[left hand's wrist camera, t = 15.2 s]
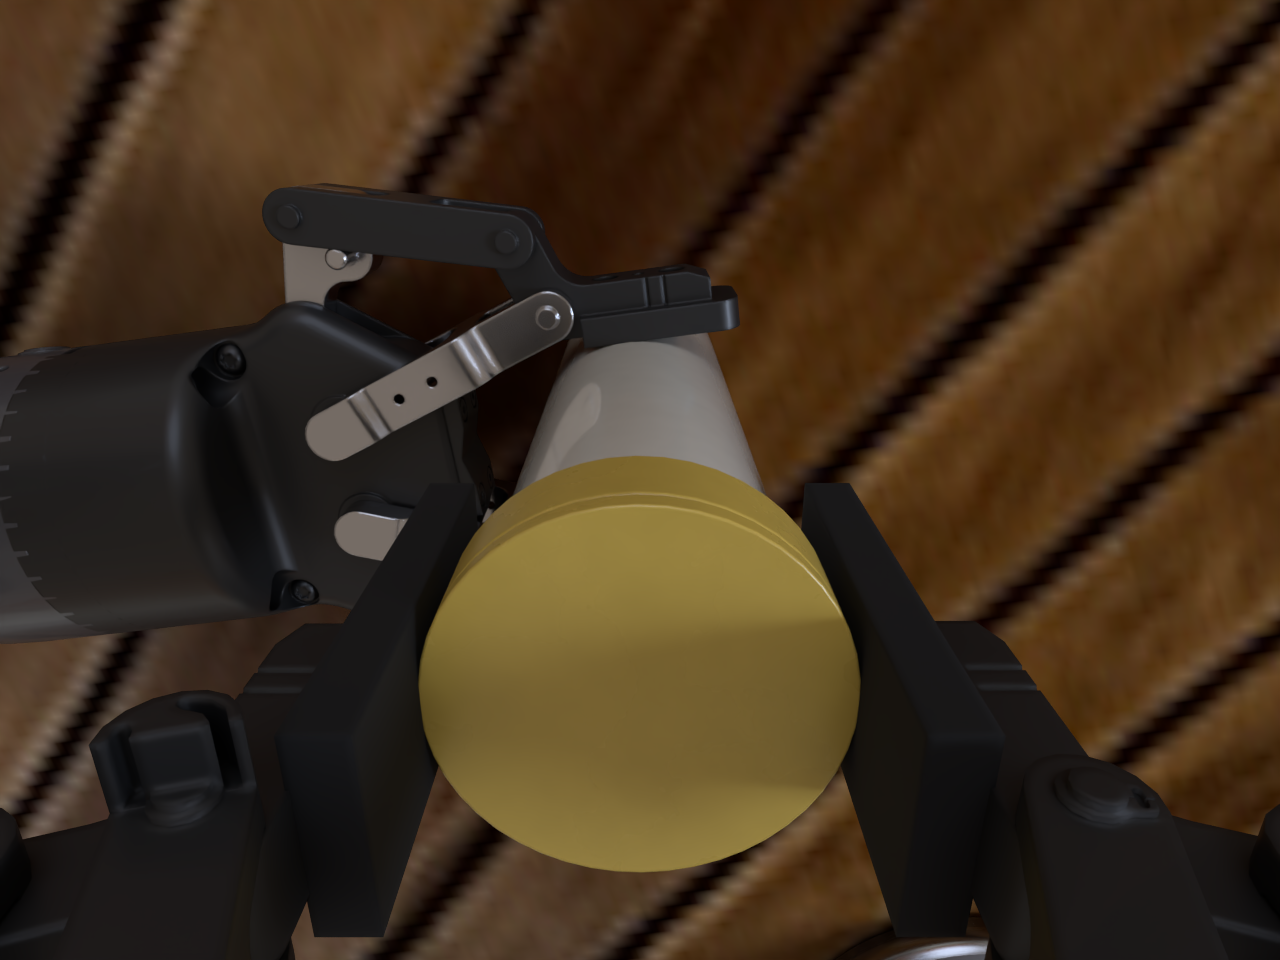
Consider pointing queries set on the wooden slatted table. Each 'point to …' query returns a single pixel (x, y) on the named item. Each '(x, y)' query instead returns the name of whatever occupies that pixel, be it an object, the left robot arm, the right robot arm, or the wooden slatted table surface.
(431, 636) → the lid
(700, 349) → the jar
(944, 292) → the wooden slatted table surface
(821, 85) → the wooden slatted table surface
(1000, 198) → the wooden slatted table surface
